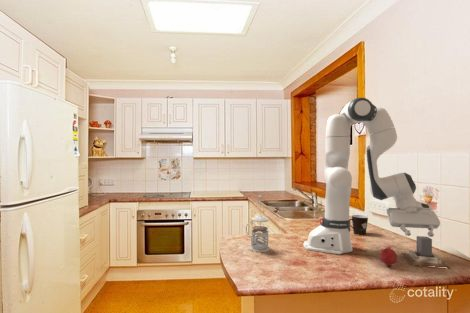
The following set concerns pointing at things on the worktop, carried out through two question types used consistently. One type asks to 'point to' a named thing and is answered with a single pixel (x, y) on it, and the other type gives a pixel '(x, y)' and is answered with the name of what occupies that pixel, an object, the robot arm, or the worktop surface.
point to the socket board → (424, 259)
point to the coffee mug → (359, 224)
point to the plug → (424, 246)
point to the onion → (388, 256)
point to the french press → (259, 234)
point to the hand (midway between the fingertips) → (420, 235)
